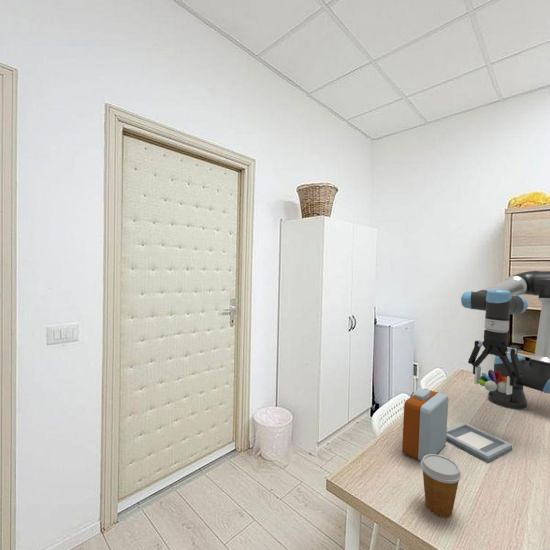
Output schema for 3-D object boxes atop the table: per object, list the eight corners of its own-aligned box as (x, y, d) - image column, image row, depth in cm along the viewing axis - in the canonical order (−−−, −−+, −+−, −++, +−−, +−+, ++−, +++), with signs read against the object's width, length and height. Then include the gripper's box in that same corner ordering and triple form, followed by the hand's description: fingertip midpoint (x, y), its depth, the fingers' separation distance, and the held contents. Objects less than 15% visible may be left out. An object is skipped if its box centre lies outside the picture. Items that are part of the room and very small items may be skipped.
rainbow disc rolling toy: (513, 395, 113) (514, 375, 113) (483, 391, 115) (484, 372, 115) (501, 386, 121) (502, 368, 121) (474, 383, 123) (475, 365, 123)
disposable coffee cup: (442, 493, 88) (444, 451, 87) (468, 520, 78) (470, 474, 78) (411, 496, 86) (413, 454, 86) (434, 524, 77) (436, 477, 76)
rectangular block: (421, 434, 119) (424, 381, 118) (446, 444, 112) (449, 388, 112) (401, 454, 106) (403, 394, 105) (428, 466, 99) (431, 403, 99)
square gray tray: (463, 427, 125) (463, 422, 125) (512, 450, 110) (512, 444, 110) (438, 437, 117) (439, 431, 117) (487, 463, 102) (488, 456, 102)
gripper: (460, 325, 125) (456, 379, 126) (527, 337, 105) (523, 402, 106) (470, 324, 129) (467, 377, 130) (537, 336, 109) (533, 398, 110)
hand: (492, 388), depth 118 cm, fingers closed on rainbow disc rolling toy, 10 cm apart
